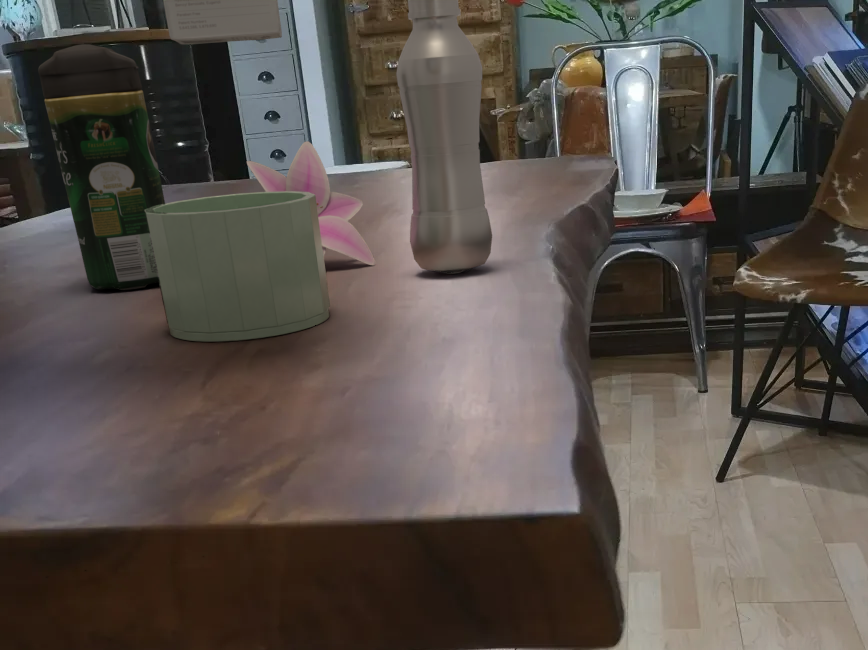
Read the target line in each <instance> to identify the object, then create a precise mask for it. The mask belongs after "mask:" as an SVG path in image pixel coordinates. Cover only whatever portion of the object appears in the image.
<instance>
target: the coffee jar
mask: <svg viewBox="0 0 868 650" xmlns="http://www.w3.org/2000/svg"><path fill="white" fill-rule="evenodd" d="M37 71H38V76H39V80H40V85H41V89H42V94H43V95H42V96H43V98H44V104H45V109H46V112H47V117H48V121H49V125H50V129H51V134H52V137H53V143H54V145H55V150H56V154H57V159H58V162H59V167H60V171H61V175H62V180H63V183H64V187H65V188H64V189H65V191H66V195H67V200H68V203H69V207H70V212H71V215H72V220H73V224H74V228H75V232H76V236H77V237H76V238H77V241H78V244H79V249H80V254H81V258H82V262H83V267H84V270H85V274H86V275H85V276H86V279H87V281H88V283H89V285H90V286H91V287H92V288H94V289H95V290H101V291H102V290H108V289H109V290H110V289H116V290H120V291H132V290H138V289H144V288H147V286H148V285H152V284H157V283H158V284H159V281H158V276H157V271H156V266H155V261H154V256H153V251H152V246H151V241H150V236H149V231H148V226H147V221H146V217H145V212H144V210H145V209H148V208H150V207H153V206H156V205H161V204H166V201H165V196H164V191H163V185H162V179H161V175H160V170H159V169H160V168H159V164H158V158H157V154H156V150H155V145H154V139H153V135H152V129H151V124H150V119H149V116H148V115H149V114H148V110H147V106H146V105H147V104H146V100H145V95H144V91H143V90H142V89H143V86H142V82H141V78H140V74H139V66H138V65H137V63H136V61H135V60H134V59H133V58H130V57H128V56H126V55H124V54H120V53H117V52H116V51H115V50H113V49H112V48H107V47H104V46H99V45H98V46H97V45H93V44H90V43H89V44H88V43H87V44H85V43H82V44H76V45H72V46H69V47H65V48H62V49H59V50H56V51H55V52H53V54H52V56H51V57H50V58H49V59H47V60H45V61H44V62H43V63H41V64H40V65H39V66H38V69H37Z"/></svg>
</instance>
